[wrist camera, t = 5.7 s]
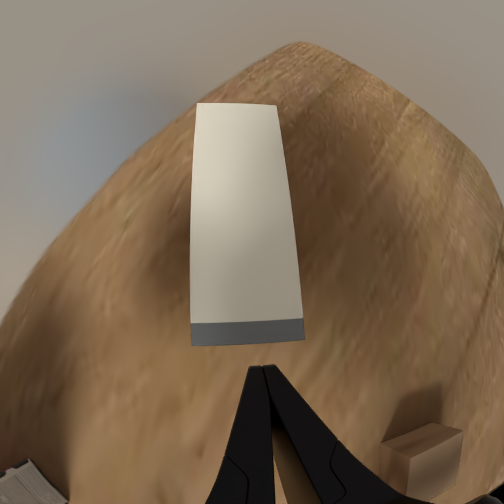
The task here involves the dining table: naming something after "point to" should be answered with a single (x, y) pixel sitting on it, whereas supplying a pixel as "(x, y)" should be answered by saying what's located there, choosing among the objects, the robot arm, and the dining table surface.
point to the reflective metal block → (422, 461)
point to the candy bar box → (27, 486)
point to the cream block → (242, 230)
